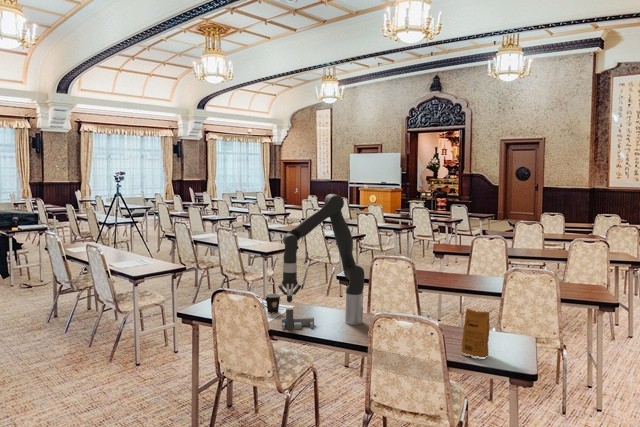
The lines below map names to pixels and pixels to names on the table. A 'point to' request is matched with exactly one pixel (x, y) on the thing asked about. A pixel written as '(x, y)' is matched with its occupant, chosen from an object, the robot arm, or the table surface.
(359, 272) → the robot arm
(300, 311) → the table surface
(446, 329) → the table surface
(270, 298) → the coffee mug
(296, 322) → the duct
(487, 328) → the coffee package
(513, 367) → the table surface
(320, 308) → the table surface
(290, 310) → the plug
